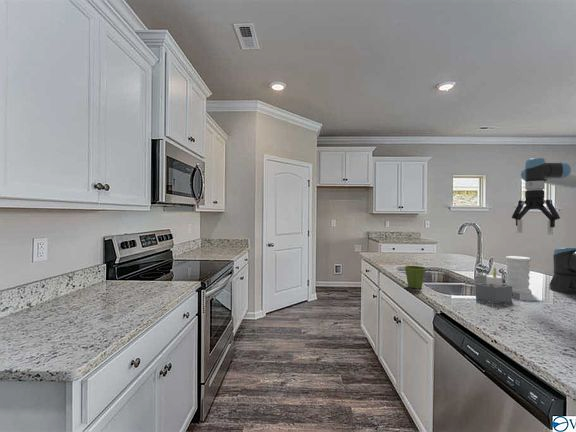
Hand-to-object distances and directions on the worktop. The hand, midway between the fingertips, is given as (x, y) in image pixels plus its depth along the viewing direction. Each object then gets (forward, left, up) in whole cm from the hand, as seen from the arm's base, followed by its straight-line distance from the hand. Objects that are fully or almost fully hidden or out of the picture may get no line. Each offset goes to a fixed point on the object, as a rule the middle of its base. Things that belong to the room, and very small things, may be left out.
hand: (534, 233), depth 157 cm
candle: (+22, -5, -31) cm, 38 cm away
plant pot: (+37, -40, -32) cm, 63 cm away
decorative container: (-7, -12, -32) cm, 35 cm away
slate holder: (+22, -5, -32) cm, 39 cm away
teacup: (+7, -18, -32) cm, 37 cm away
